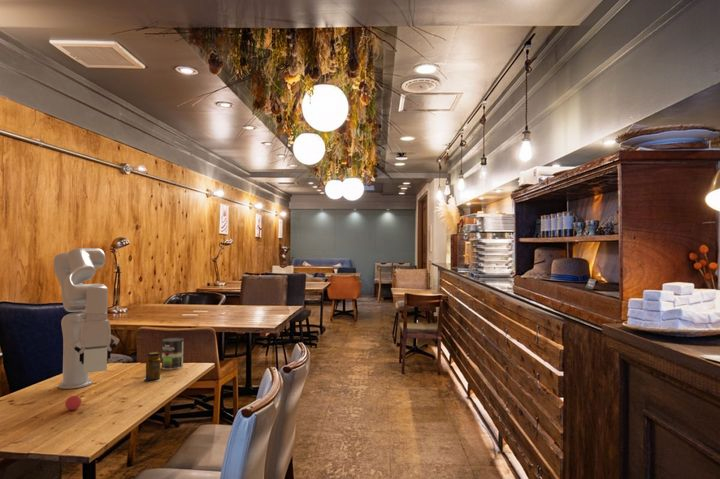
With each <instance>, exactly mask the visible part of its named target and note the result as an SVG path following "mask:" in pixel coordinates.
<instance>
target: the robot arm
mask: <svg viewBox="0 0 720 479" xmlns="http://www.w3.org/2000/svg"><path fill="white" fill-rule="evenodd" d="M106 259H107V257H106V254H105V251H104V250H103V249H101V248H99V247H98V248H97V247H76V248H73V249H70V251H68V252H60V253H58V254H56V255H55V256H54V258H53V260H52V262H53V264H52V265H53V270H54V273H55V277H56V278H57V280H58V282H59V284H60V285H59V286H60V289H61V290H60V291H61V297H62V298H61V299H62V304H63V305H62V306H63V309H64V310H65V311H66V312H67V313H68V312H69V313H68V314H66V315H64V316H63V317H62V319H61V321H60V322H61V332H62V339H63V340H62V342H63V344H62V346H63V349H62V352H63V354H62V356H63V357H62V381H61V382H59V383H58V384H57V387H58V388H59V389H63V390H71V389H80V388H85V387H87V386H90V385H92V383H93V379H91V378H89V373H84V372H83V364H84V349H86V348H92V347H102V346H105V347H107V362H109V360H110V359H111V354H112V353H111V352H112V350H113V349H114V348H115V347H116V346H117V344H119V342H120V338H118V337H116V336H115V335H113V334H111V332H112V331H111V328H112V327H111V322H110V319H108V308H109V307H108V306H109V305H108V304H109V301H108V300H109V288H108V287H107V286H106V285H105V284H104V283H85V282H87V281H89V280H91V279H93V278H94V276H95V275H96V271H97V270H98V269H100V268H102V267H104V265H105V263H106ZM112 340H113V342H112ZM111 342H112V344H111Z"/></svg>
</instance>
